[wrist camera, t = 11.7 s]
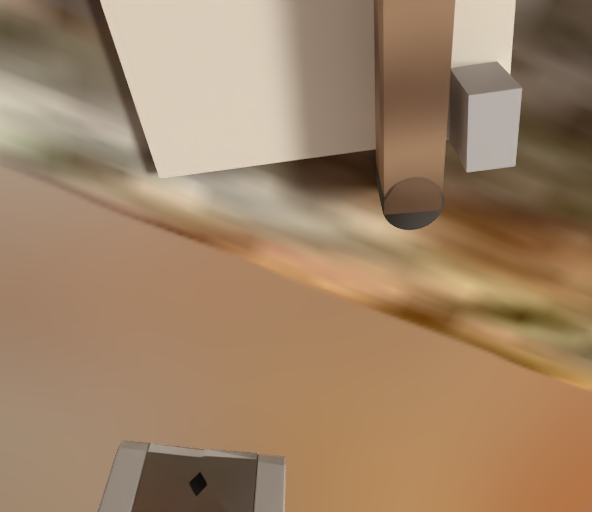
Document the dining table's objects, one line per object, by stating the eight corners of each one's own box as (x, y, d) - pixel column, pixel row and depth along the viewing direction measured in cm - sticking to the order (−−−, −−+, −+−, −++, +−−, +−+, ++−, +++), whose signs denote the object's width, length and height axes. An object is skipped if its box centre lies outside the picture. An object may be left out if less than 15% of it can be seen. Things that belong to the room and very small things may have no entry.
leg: (370, -76, 25) (380, -66, 22) (442, -84, 25) (462, -75, 22) (374, 195, 33) (382, 232, 30) (428, 190, 33) (442, 227, 30)
